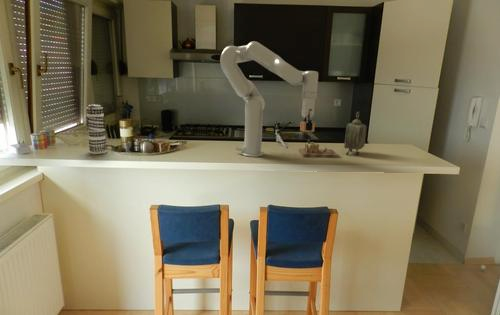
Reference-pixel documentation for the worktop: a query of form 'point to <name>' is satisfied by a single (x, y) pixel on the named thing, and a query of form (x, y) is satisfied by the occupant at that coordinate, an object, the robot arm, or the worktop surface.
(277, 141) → the caliper
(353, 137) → the tabletop clock
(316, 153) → the gear board
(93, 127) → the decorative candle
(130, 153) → the worktop surface
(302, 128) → the terracotta gear
